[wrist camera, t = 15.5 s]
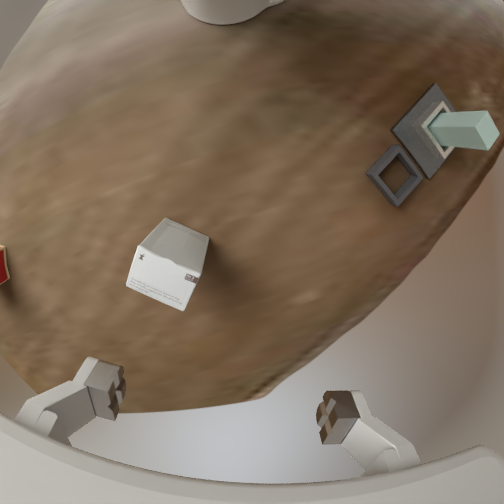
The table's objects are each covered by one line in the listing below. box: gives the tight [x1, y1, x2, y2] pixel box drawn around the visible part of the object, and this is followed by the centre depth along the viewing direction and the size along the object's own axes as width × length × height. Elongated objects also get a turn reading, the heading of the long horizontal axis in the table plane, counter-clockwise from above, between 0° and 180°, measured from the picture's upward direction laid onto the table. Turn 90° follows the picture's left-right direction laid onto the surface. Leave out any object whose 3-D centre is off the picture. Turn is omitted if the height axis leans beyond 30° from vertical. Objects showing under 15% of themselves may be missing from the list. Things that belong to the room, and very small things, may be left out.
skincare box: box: [126, 217, 209, 311], centre depth 40 cm, size 8×6×15 cm
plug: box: [427, 111, 500, 151], centre depth 34 cm, size 4×4×14 cm
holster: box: [366, 145, 424, 207], centre depth 43 cm, size 7×7×2 cm
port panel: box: [390, 83, 456, 179], centre depth 39 cm, size 14×11×4 cm
